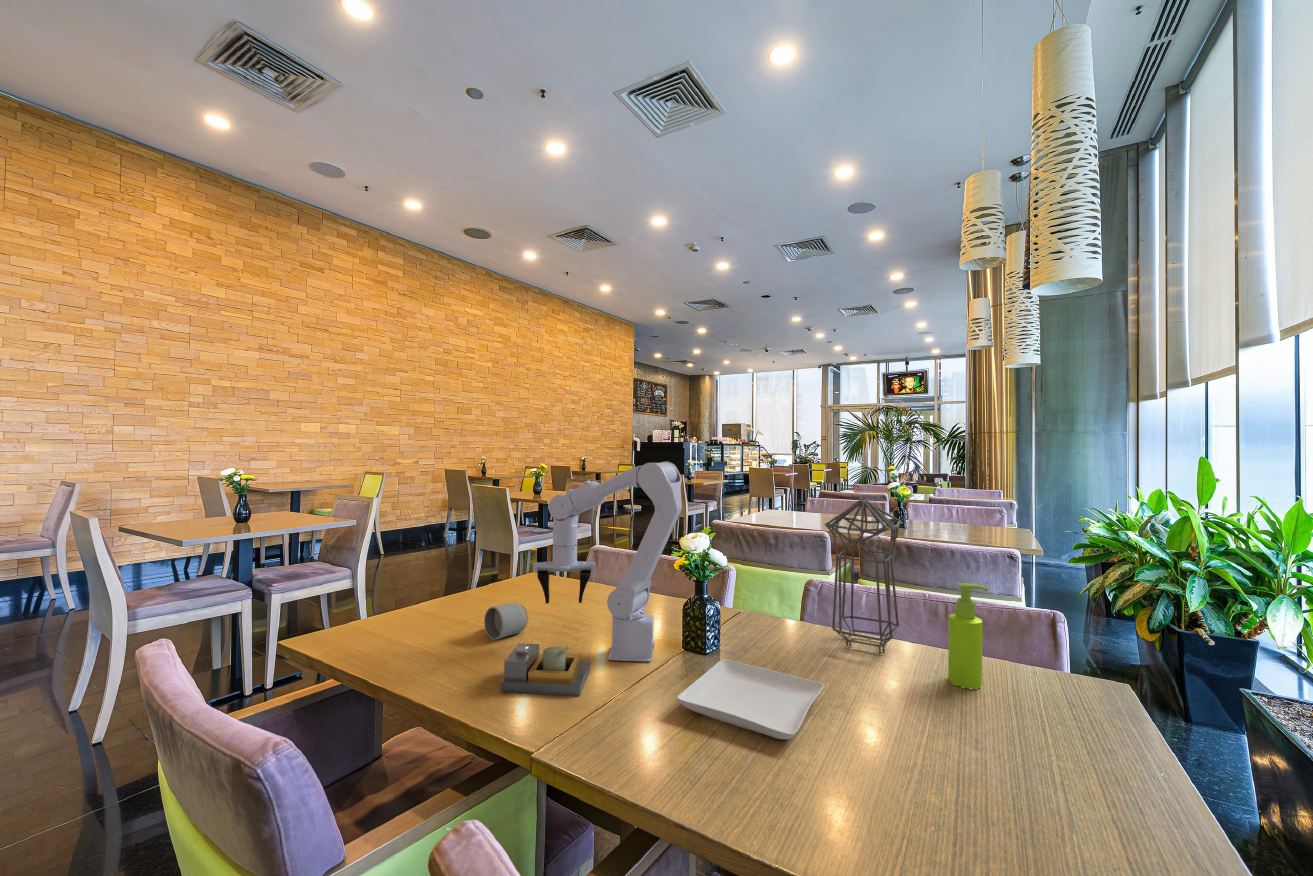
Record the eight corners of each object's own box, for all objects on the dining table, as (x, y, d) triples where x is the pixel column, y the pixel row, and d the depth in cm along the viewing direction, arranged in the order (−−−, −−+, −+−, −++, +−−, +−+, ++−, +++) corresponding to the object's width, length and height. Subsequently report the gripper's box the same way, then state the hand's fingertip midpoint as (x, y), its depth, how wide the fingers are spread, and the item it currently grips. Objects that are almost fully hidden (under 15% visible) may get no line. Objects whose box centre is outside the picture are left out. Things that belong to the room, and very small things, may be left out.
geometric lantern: (896, 666, 115) (894, 505, 115) (823, 651, 123) (821, 501, 123) (905, 642, 128) (903, 498, 129) (838, 630, 137) (837, 495, 137)
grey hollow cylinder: (529, 634, 130) (530, 602, 130) (501, 643, 123) (501, 610, 123) (504, 625, 136) (504, 595, 136) (475, 633, 130) (476, 602, 130)
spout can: (550, 674, 108) (551, 637, 108) (575, 680, 105) (575, 641, 105) (538, 683, 103) (538, 644, 104) (563, 689, 101) (564, 649, 101)
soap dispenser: (992, 691, 103) (993, 589, 104) (953, 687, 105) (955, 587, 105) (980, 678, 109) (981, 581, 109) (944, 675, 111) (945, 579, 111)
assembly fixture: (589, 670, 110) (590, 638, 110) (579, 696, 99) (580, 660, 99) (518, 667, 110) (519, 635, 110) (500, 692, 99) (501, 657, 99)
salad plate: (825, 699, 100) (825, 681, 100) (794, 755, 82) (794, 733, 82) (722, 672, 111) (722, 656, 111) (673, 717, 92) (674, 697, 92)
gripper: (531, 548, 120) (530, 607, 120) (595, 547, 122) (594, 606, 122) (535, 542, 127) (534, 598, 127) (595, 542, 129) (594, 597, 129)
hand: (563, 602), depth 125 cm, fingers open, 7 cm apart
